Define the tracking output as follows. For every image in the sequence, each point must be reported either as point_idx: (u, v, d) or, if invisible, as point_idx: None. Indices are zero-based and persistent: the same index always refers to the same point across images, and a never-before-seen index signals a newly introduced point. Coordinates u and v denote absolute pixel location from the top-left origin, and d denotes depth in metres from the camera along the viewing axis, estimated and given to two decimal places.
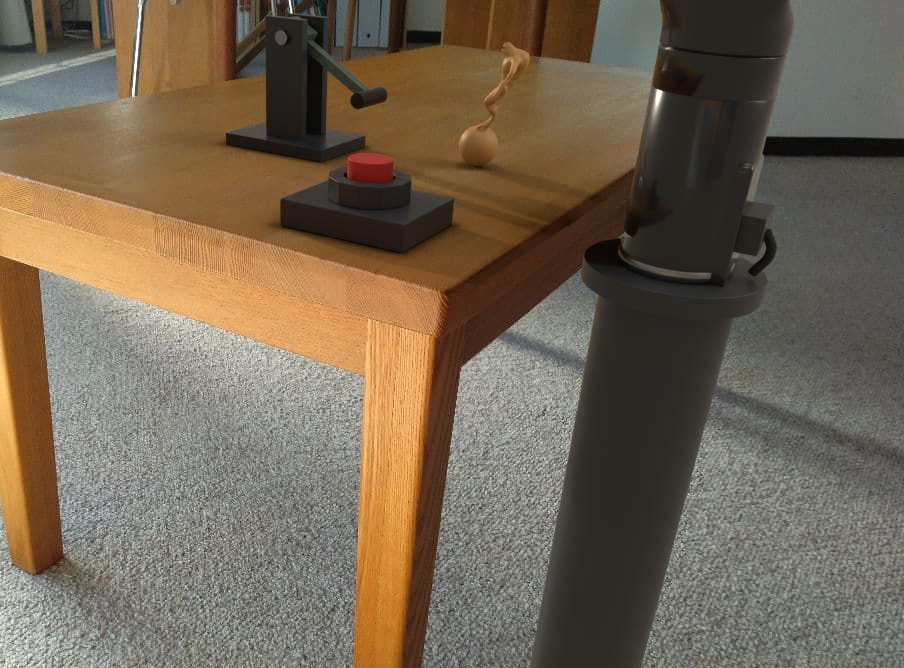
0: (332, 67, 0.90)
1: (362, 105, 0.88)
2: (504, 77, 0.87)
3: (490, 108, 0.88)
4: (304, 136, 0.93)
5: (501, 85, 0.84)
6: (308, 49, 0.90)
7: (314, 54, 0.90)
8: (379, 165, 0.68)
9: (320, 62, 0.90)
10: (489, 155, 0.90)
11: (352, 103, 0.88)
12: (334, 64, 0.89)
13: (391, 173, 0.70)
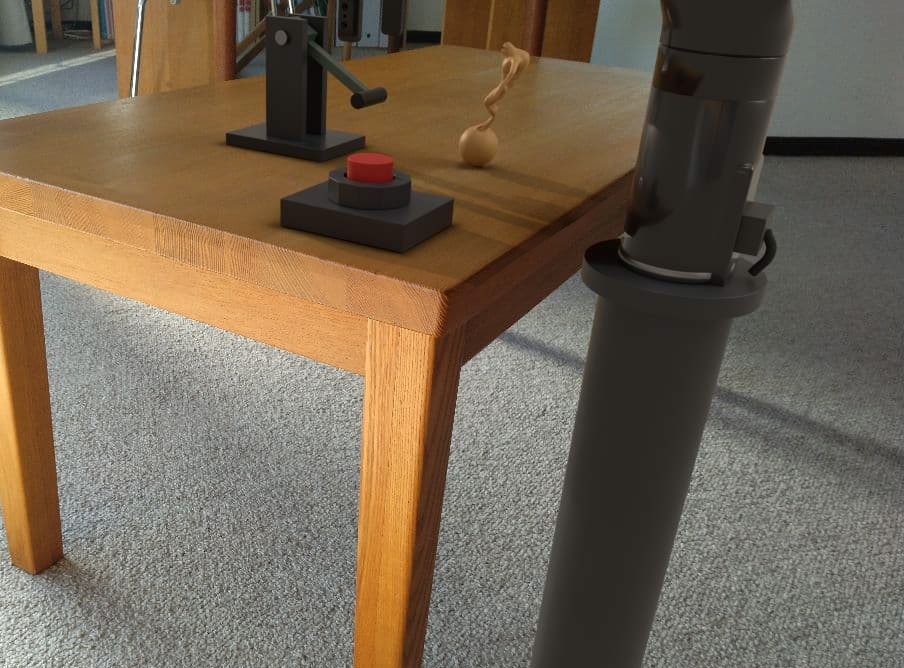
0: (332, 67, 0.90)
1: (362, 105, 0.88)
2: (504, 77, 0.87)
3: (490, 108, 0.88)
4: (304, 136, 0.93)
5: (501, 85, 0.84)
6: (308, 49, 0.90)
7: (314, 54, 0.90)
8: (379, 165, 0.68)
9: (320, 62, 0.90)
10: (489, 155, 0.90)
11: (352, 103, 0.88)
12: (334, 64, 0.89)
13: (391, 173, 0.70)
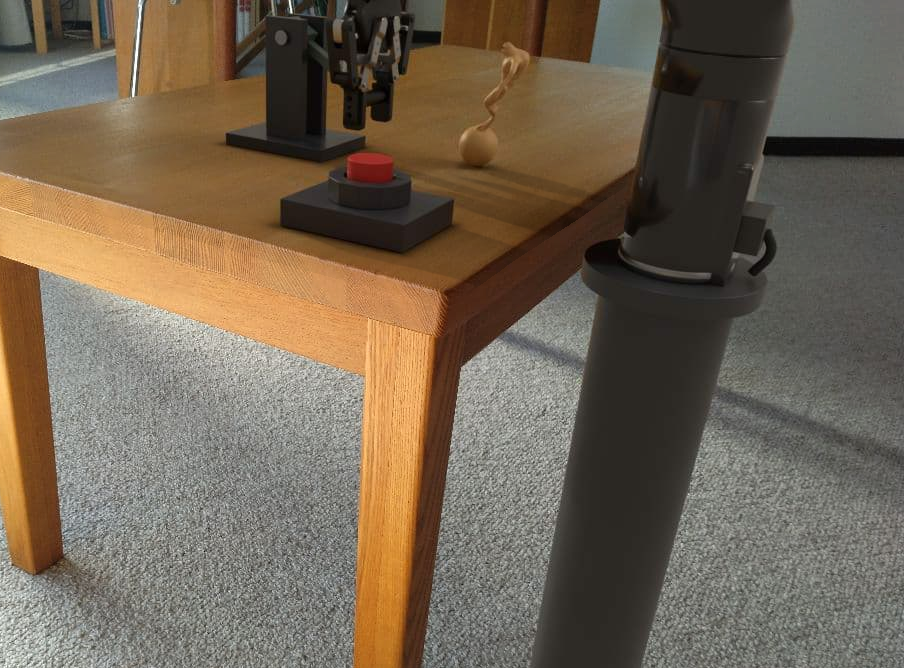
0: None
1: None
2: (504, 77, 0.87)
3: (490, 108, 0.88)
4: (304, 136, 0.93)
5: (501, 85, 0.84)
6: (308, 49, 0.90)
7: (314, 54, 0.90)
8: (379, 165, 0.68)
9: (320, 62, 0.90)
10: (489, 155, 0.90)
11: None
12: None
13: (391, 173, 0.70)
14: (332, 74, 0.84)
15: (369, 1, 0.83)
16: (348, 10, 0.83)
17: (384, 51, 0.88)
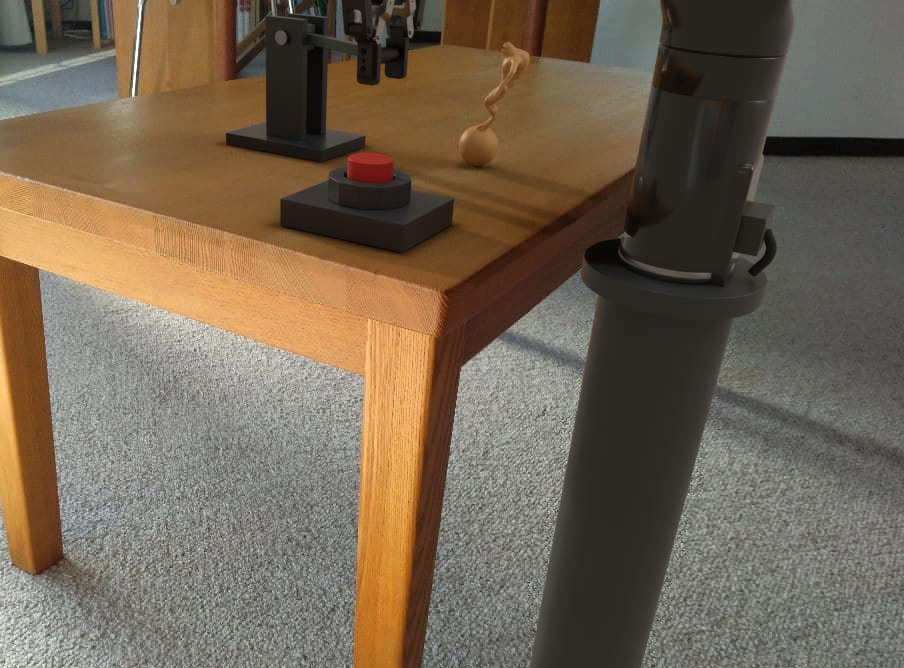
0: (338, 45, 0.88)
1: None
2: (504, 77, 0.87)
3: (490, 108, 0.88)
4: (304, 136, 0.93)
5: (501, 85, 0.84)
6: (311, 40, 0.90)
7: (317, 42, 0.89)
8: (379, 165, 0.68)
9: (326, 46, 0.89)
10: (489, 155, 0.90)
11: None
12: (339, 41, 0.88)
13: (391, 173, 0.70)
14: (346, 25, 0.82)
15: None
16: None
17: (399, 3, 0.85)
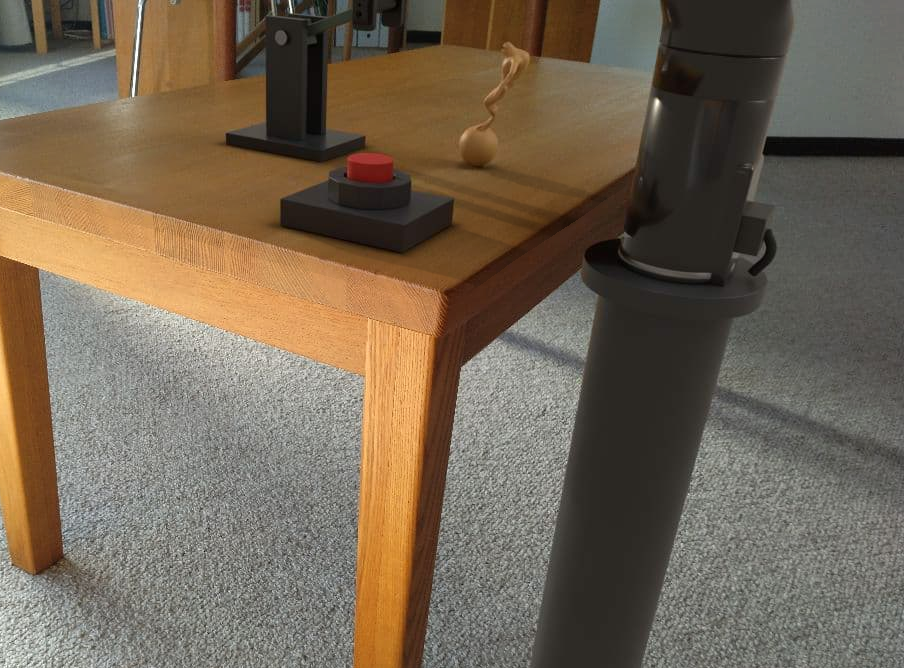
0: (336, 19, 0.87)
1: None
2: (504, 77, 0.87)
3: (490, 108, 0.88)
4: (304, 136, 0.93)
5: (501, 85, 0.84)
6: (310, 31, 0.89)
7: (317, 28, 0.89)
8: (379, 165, 0.68)
9: (325, 27, 0.88)
10: (489, 155, 0.90)
11: None
12: None
13: (391, 173, 0.70)
14: None
15: None
16: None
17: None
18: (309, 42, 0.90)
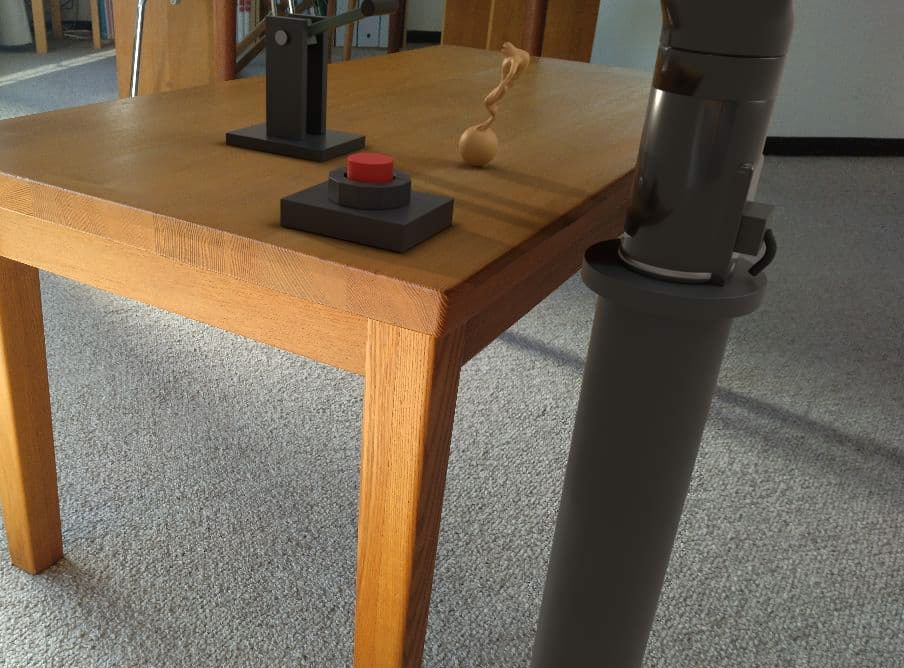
0: (336, 20, 0.87)
1: (374, 5, 0.83)
2: (504, 77, 0.87)
3: (490, 108, 0.88)
4: (304, 136, 0.93)
5: (501, 85, 0.84)
6: (310, 31, 0.89)
7: (317, 29, 0.89)
8: (379, 165, 0.68)
9: (325, 28, 0.88)
10: (489, 155, 0.90)
11: (366, 13, 0.84)
12: None
13: (391, 173, 0.70)
14: None
15: None
16: None
17: None
18: (309, 42, 0.90)
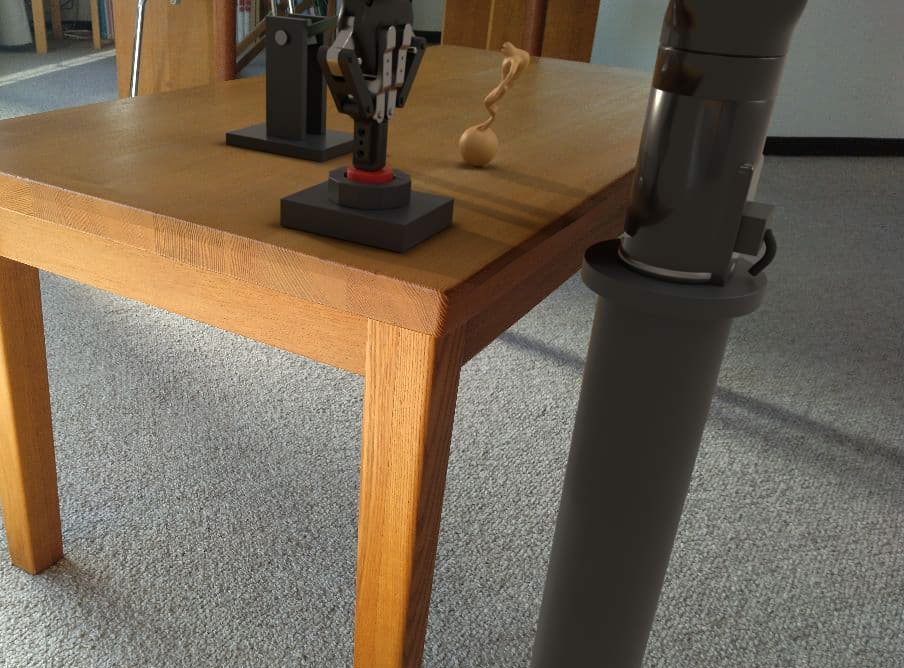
0: (336, 20, 0.87)
1: None
2: (504, 77, 0.87)
3: (490, 108, 0.88)
4: (304, 136, 0.93)
5: (501, 85, 0.84)
6: (310, 31, 0.89)
7: (317, 29, 0.89)
8: (378, 176, 0.69)
9: (325, 28, 0.88)
10: (489, 155, 0.90)
11: None
12: None
13: None
14: (339, 106, 0.66)
15: (372, 3, 0.62)
16: (344, 16, 0.62)
17: None
18: (309, 42, 0.90)
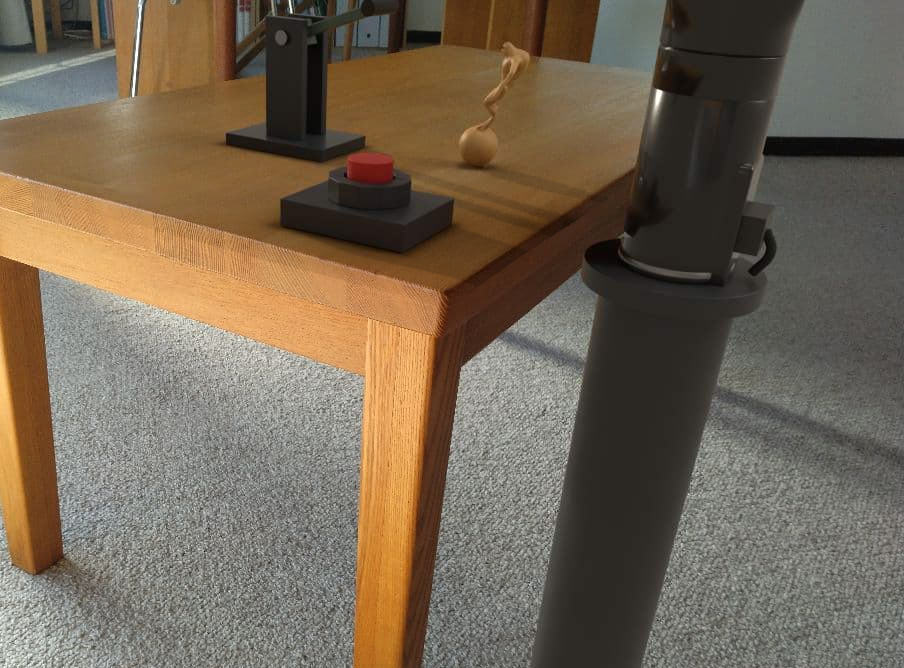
0: (336, 20, 0.87)
1: (374, 5, 0.83)
2: (504, 77, 0.87)
3: (490, 108, 0.88)
4: (304, 136, 0.93)
5: (501, 85, 0.84)
6: (310, 31, 0.89)
7: (317, 29, 0.89)
8: (379, 165, 0.68)
9: (325, 28, 0.88)
10: (489, 155, 0.90)
11: (366, 13, 0.84)
12: None
13: (391, 173, 0.70)
14: None
15: None
16: None
17: None
18: (309, 42, 0.90)
